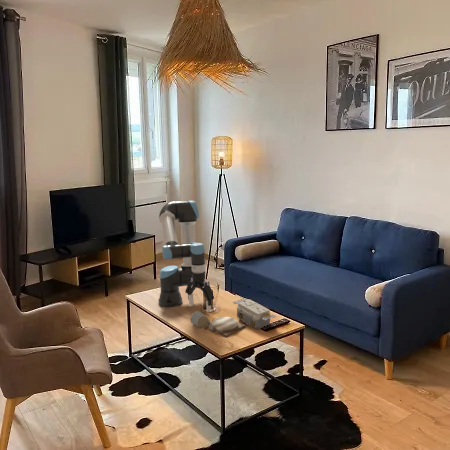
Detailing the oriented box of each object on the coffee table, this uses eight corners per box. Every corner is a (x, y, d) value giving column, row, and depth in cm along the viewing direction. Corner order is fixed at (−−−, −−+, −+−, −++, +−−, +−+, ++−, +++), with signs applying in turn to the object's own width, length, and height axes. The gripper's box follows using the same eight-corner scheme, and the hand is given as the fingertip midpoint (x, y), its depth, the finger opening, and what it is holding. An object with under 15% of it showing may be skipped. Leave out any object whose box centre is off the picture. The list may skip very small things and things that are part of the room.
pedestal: (204, 329, 248) (204, 322, 247) (223, 319, 260) (223, 313, 259) (226, 337, 238) (226, 330, 237) (245, 327, 249) (245, 320, 249)
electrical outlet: (245, 311, 270) (245, 295, 268) (277, 329, 248) (278, 312, 246) (229, 315, 264) (230, 300, 261) (261, 335, 241) (262, 318, 239)
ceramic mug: (198, 330, 247) (198, 317, 245) (190, 325, 253) (190, 312, 252) (214, 325, 253) (213, 312, 252) (205, 320, 259) (205, 308, 258)
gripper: (177, 269, 252) (179, 305, 256) (210, 277, 236) (211, 315, 239) (187, 266, 257) (189, 301, 261) (219, 273, 241) (221, 311, 245)
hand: (200, 308), depth 250 cm, fingers open, 13 cm apart
